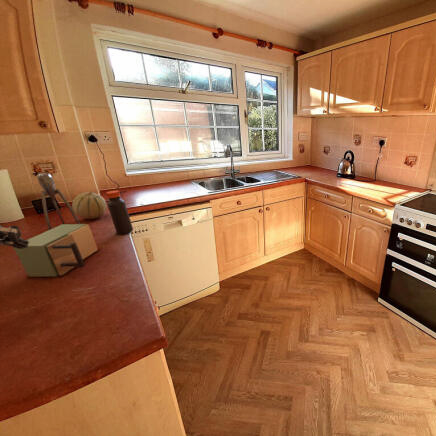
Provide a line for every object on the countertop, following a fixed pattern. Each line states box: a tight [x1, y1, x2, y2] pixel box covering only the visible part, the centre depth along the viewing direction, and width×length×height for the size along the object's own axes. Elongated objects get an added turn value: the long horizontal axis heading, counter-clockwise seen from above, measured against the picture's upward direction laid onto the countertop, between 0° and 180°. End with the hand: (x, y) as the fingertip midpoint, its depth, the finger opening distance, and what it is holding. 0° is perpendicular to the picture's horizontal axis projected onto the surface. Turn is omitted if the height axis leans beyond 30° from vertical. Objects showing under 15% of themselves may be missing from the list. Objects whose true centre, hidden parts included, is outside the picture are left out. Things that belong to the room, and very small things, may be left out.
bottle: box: [105, 190, 134, 235], centre depth 114 cm, size 7×7×20 cm
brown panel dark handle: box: [46, 234, 86, 276], centre depth 86 cm, size 9×9×12 cm
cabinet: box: [13, 223, 99, 278], centre depth 90 cm, size 11×18×12 cm, turn 179°
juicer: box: [36, 172, 81, 230], centre depth 111 cm, size 10×11×30 cm
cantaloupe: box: [71, 191, 108, 220], centre depth 134 cm, size 15×15×15 cm
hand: (25, 245), depth 67 cm, fingers closed
